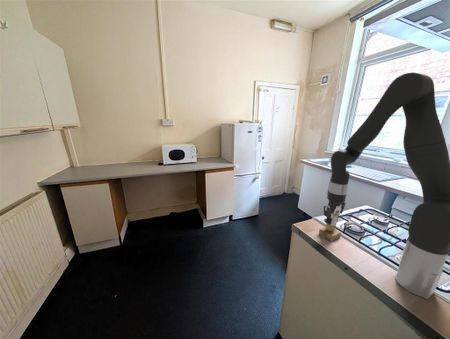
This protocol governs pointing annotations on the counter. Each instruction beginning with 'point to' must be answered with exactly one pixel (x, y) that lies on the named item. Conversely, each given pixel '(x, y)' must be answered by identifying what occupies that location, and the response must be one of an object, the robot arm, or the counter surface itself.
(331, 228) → the sprinkles bottle
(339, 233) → the walnut block
